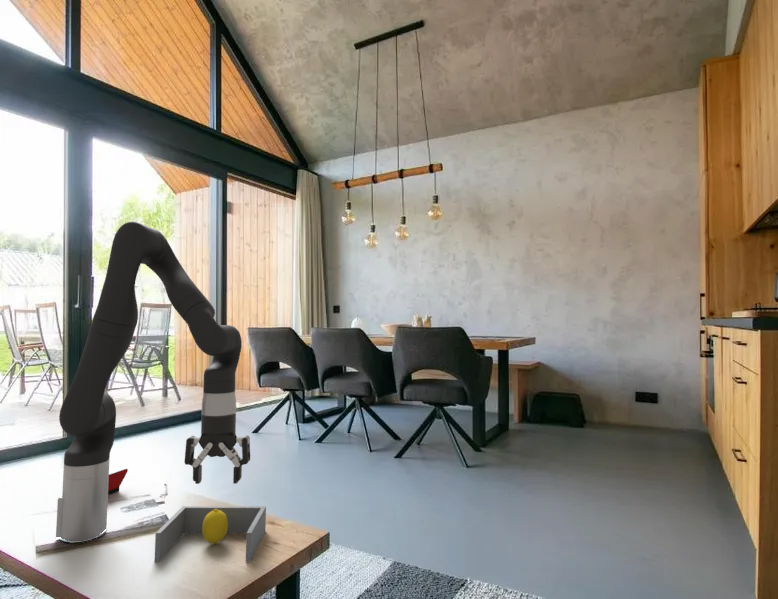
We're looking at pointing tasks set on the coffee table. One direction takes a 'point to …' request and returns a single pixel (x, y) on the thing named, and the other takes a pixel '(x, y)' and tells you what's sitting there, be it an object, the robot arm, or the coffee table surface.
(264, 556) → the coffee table surface
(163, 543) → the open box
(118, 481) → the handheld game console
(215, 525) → the lemon
